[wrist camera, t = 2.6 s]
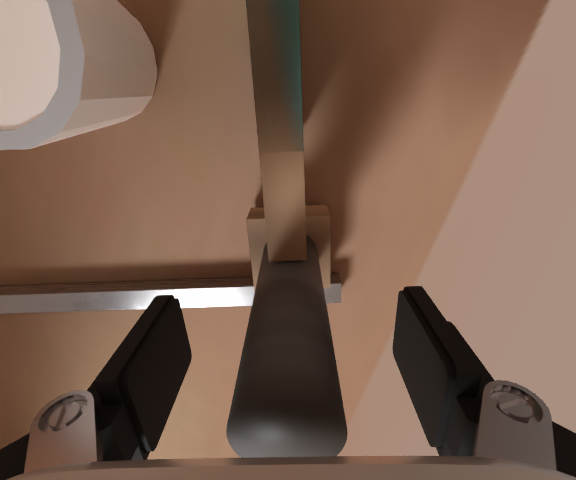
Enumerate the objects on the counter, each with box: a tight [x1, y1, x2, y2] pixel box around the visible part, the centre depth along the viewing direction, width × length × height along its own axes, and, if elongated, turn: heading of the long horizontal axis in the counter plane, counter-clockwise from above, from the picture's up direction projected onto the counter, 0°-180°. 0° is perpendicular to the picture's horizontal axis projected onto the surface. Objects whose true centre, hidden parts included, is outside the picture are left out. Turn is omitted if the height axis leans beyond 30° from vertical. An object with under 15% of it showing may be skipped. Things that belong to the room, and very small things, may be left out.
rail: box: [0, 274, 341, 314], centre depth 20 cm, size 1×24×1 cm, turn 93°
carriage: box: [227, 0, 347, 458], centre depth 11 cm, size 16×4×12 cm, turn 3°
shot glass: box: [0, 0, 158, 150], centre depth 12 cm, size 7×7×7 cm
